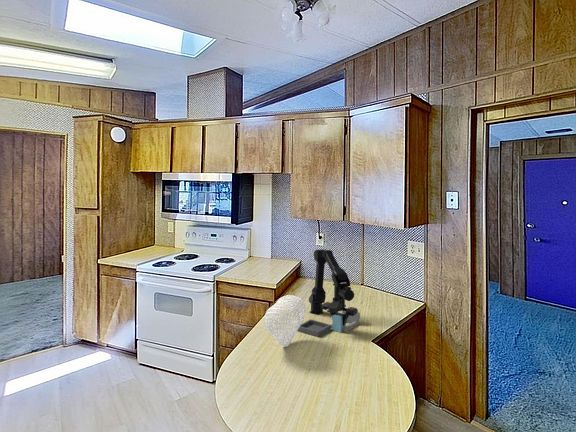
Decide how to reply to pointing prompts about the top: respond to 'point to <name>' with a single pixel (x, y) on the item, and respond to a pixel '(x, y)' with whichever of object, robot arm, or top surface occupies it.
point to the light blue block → (337, 322)
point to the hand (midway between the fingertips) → (339, 324)
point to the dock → (351, 321)
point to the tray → (314, 328)
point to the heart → (299, 320)
